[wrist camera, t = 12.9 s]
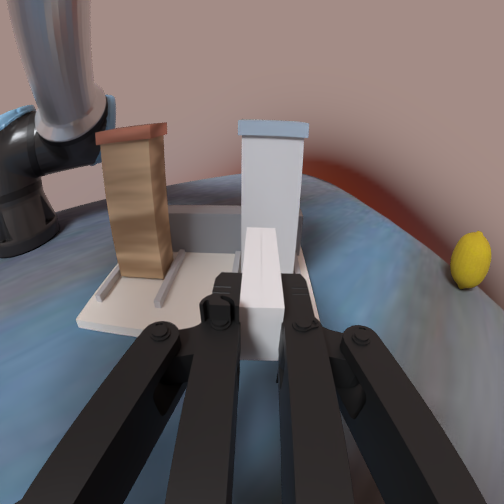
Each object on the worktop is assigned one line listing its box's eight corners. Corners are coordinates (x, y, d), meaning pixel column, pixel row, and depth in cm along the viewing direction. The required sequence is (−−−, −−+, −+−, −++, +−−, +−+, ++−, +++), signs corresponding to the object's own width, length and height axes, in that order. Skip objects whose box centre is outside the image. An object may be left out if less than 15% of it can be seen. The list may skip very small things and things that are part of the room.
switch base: (321, 346, 22) (335, 287, 19) (79, 327, 22) (58, 273, 20) (298, 247, 38) (302, 204, 35) (140, 243, 38) (135, 202, 36)
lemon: (472, 306, 25) (497, 246, 22) (437, 287, 29) (457, 227, 25) (480, 289, 28) (500, 235, 25) (448, 272, 32) (465, 219, 28)
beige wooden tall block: (165, 280, 28) (149, 125, 21) (117, 277, 28) (95, 132, 21) (176, 258, 32) (166, 122, 25) (133, 256, 32) (117, 127, 25)
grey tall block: (295, 285, 28) (308, 123, 21) (238, 283, 28) (238, 120, 21) (291, 262, 32) (301, 121, 25) (240, 260, 32) (241, 119, 25)
